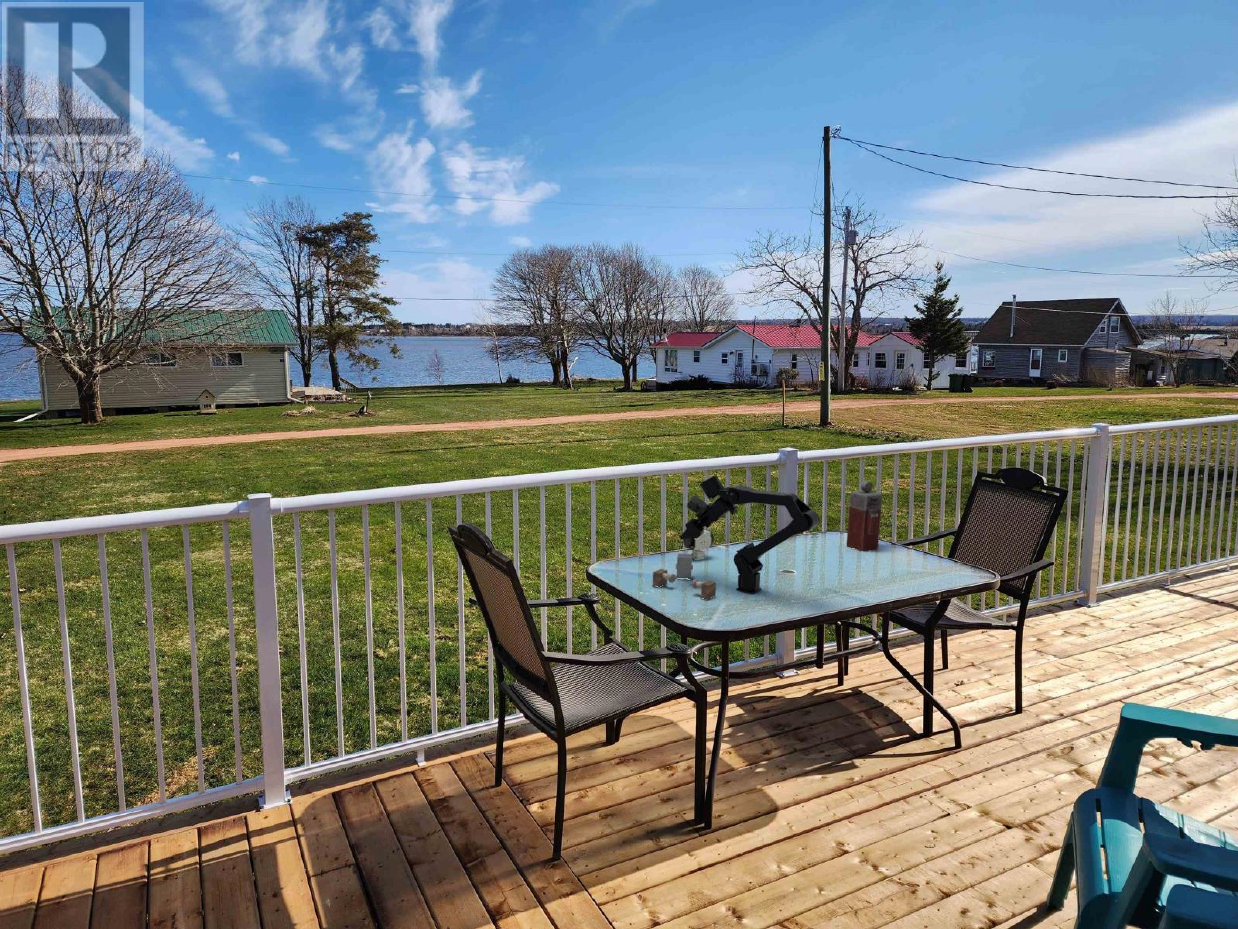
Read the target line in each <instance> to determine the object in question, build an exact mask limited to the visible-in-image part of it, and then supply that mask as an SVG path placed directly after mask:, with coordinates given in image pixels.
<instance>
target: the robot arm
mask: <svg viewBox="0 0 1238 929" xmlns="http://www.w3.org/2000/svg"><path fill="white" fill-rule="evenodd" d="M699 487H700V488H701V490H702V492H703V493H704V494H705V496H706V497H707V499H708V500H712V501H713V500H714V501H713V502H710V503H706V502H705V500H704V501H703V500H702V499H701V498H699V497H698V496H695V495H693V496H692V497H691V498H690V499H689V501H688V502H687V503H686V508H687V509H688V510H690V511H691V512H693V513H696V514H695V516H696V517H697V518H691V519H689V521H687V522H686V523H685V524H684V525H685V530H684V531H683V532H682V533H681V535H680V536H679V538H680V540H682V541H683V539H689V538H696V539H697V538H698V537H700V536H701V535H702V534H703V533H704V529H705V528H706V529H708V528H710V526H711V525H713V524H714V523H716V522H718V521H719V520H720V519H721V518H722V517H724V516H725V515H726V514H728V513H729V512H730V514H731V515H732V516H733V515H736V514H738V512H739V511H738V509H739V508H738V505H743V504H744V505H745V504H753V503H754V504H761V505H762V504H763V505H773V506H782V507H784V508H786V510H787V512H788V514H789V515H790V518H791V519H792V520H791V521H790V522H789V523H788V525H786V527H784V528H782V529H780V530H779V531H777V532H775V533H774V534H772V535H770V536H769V537H767V538H766V539H764V540H763V541H761V542H760V543H758V544H754V542H753V541H752V542H750V543H748V544H746V545H744V546H743V547H742V548H740V549H737V550H736V551H735V552H736V553H735V554H734V556H733V563H734V565H735V567H736V569H737V574H738V576H737V587H736V589H735V590H736V591H740V592H743V593H748V594H752V595H754V594H755V593H758V592H759V591H762V587H760V585H761V571H762V570H763V568H764V563H762V562H761V560H760V559H761V557H763V556H764V555H765V554H766V553H767V552H769V551H771V550H773V549H774V548H776V547H777V546H779V545H781V544H783V543H784V542H786V541H787V540H789V539H791V538H792V537H793V536H797V535H800V534H802V533H805V532H809V531H810V530H812V529H813V528H815V527H817V526H819V524H820V516H819V513H817V511H814V510H812V509H811V507H810V506H809V505H808V504H806V502H804V501H803V500H801V499H800V498H799V497H798V495H797V494H795V493H793V492H790V493H788V492H787V493H786V492H777V491H766V490H765V491H764V490H757V489H754V488H752V487H749V486H746V485H742V484H738V485H736V486H727V487H724V485H723V484H722V483H721V481H720V479H719V477H718V476H717V474H714V475H713V476H711V477H709V478H708V479H706V480H703V481H702V482H701V483H700V484H699ZM715 499H716V500H715Z"/></svg>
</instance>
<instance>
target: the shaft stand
mask: <svg viewBox="0 0 1238 929" xmlns="http://www.w3.org/2000/svg"><path fill="white" fill-rule="evenodd" d="M676 580H677V575H676V574H674V573H670V574H669V573H668V570H667V569H663V568H660V569H657V570H655V571H653V572H652V586H653V585H654V586H658V587H660V586H662V585H664V586H667V585H666V584H668V582H669V583H671V584H674V583H675V581H676ZM691 585H692V588H693V589H695V590H697V589H699V590H700V589H701V590H700V599H701V598H704V599H709V600H711V599H712V598H711V597H713V596H715V597H716V591H717V589H716V588H717V587H716V586H717V582H716V581H715V580H707V581H704V582H701V581H700V580H699V579H694V580H693V581H692V584H691ZM662 587H663V586H662ZM660 588H661V587H660ZM710 598H711V599H710ZM713 598H714V597H713ZM704 599H703V600H704Z"/></svg>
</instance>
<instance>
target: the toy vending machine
mask: <svg viewBox="0 0 1238 929" xmlns="http://www.w3.org/2000/svg"><path fill="white" fill-rule="evenodd" d="M860 487H861V490H853V491H852V490H851V492H850V493H849V494H850V496H849V509H848V521H847V522H848V524H847V536H846V547H847V548H850V549H852V548H855V549H857V550H856V551H858V550H859V552H861V551H864V552H870V551H869V550H871V551H875V550H874V549H878V550H879V538H880V528H881V526H880V525H881V515H882V514H881V513H882V504H883V503H882V502H883V495H882V493H880V492H876V491H872V489H873V483H872V482H871V481H869V480H864V481H862V483H861V486H860ZM855 549H854V550H855Z"/></svg>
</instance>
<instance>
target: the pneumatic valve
mask: <svg viewBox="0 0 1238 929" xmlns="http://www.w3.org/2000/svg"><path fill="white" fill-rule="evenodd" d="M714 541H715V536H714V534H713V531H711V530H708V529H707V528H706V529H705V528H704V533H703V534H702V535H701V536H700V537H698V538H697V539H696V538H689V539H682V543H683V545H684V547H685V548H686V549H688V550H691V553H690V554H692V558H693V559H692V560H695V561H696V560H697V561H702V560H701V559H703V560H705V556H706V552H705V551H704V549H709V548H712V546H713V543H714Z"/></svg>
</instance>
